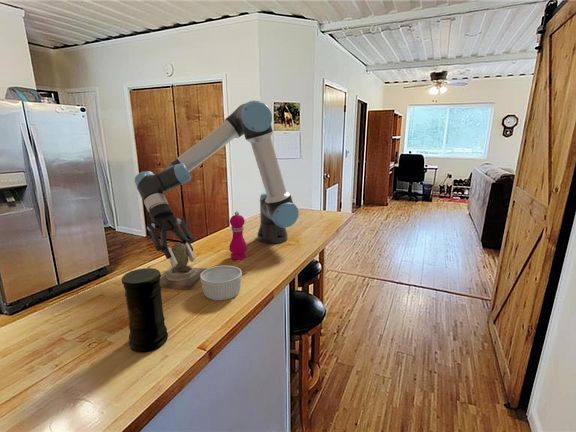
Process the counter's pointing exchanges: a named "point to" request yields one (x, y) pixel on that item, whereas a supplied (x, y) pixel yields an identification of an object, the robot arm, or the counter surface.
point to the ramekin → (221, 282)
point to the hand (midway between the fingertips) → (184, 262)
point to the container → (145, 309)
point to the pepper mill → (237, 238)
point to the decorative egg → (180, 256)
